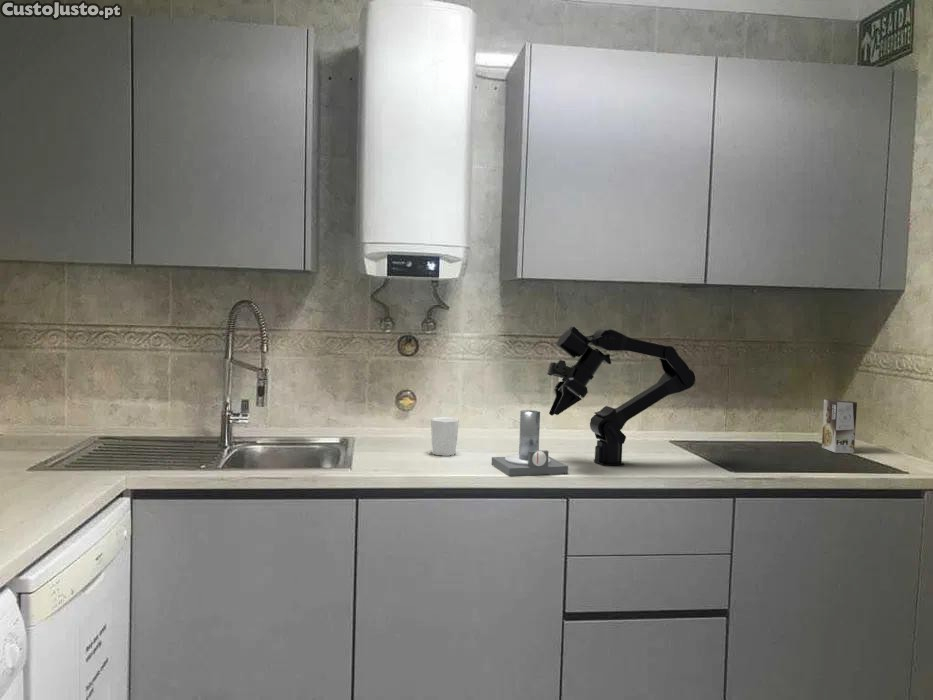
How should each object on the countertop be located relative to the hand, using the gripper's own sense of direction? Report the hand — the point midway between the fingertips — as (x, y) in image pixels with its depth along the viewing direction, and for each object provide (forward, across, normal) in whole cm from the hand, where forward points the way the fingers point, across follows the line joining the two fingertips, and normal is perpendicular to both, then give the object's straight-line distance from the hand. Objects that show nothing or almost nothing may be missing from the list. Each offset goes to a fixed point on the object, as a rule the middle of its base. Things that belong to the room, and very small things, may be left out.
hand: (552, 414), depth 197 cm
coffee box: (-47, -33, +84) cm, 102 cm away
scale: (+16, +3, +3) cm, 16 cm away
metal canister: (+14, +3, +1) cm, 14 cm away
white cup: (+26, -14, -17) cm, 35 cm away
